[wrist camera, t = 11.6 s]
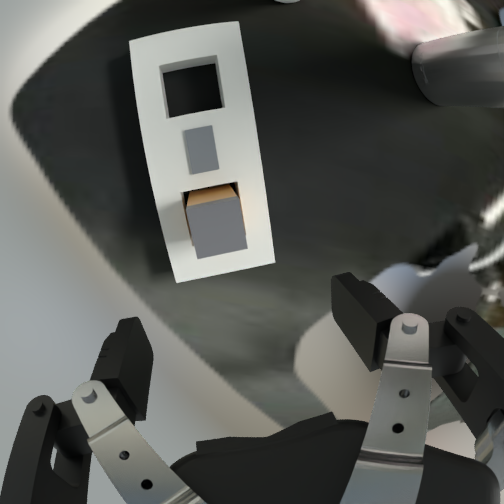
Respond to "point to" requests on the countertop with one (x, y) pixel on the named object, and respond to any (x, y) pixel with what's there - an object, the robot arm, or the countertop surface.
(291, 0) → the drinking glass
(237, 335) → the countertop surface
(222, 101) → the pdu strip
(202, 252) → the plug
